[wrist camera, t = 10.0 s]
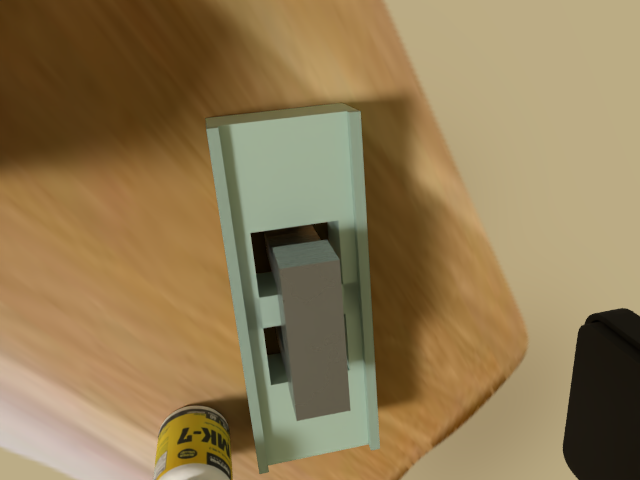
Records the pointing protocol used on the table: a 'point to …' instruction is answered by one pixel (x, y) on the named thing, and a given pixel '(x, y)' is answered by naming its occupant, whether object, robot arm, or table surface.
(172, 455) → the supplement bottle
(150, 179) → the table surface
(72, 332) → the table surface
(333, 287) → the tall taupe block
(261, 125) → the rail
